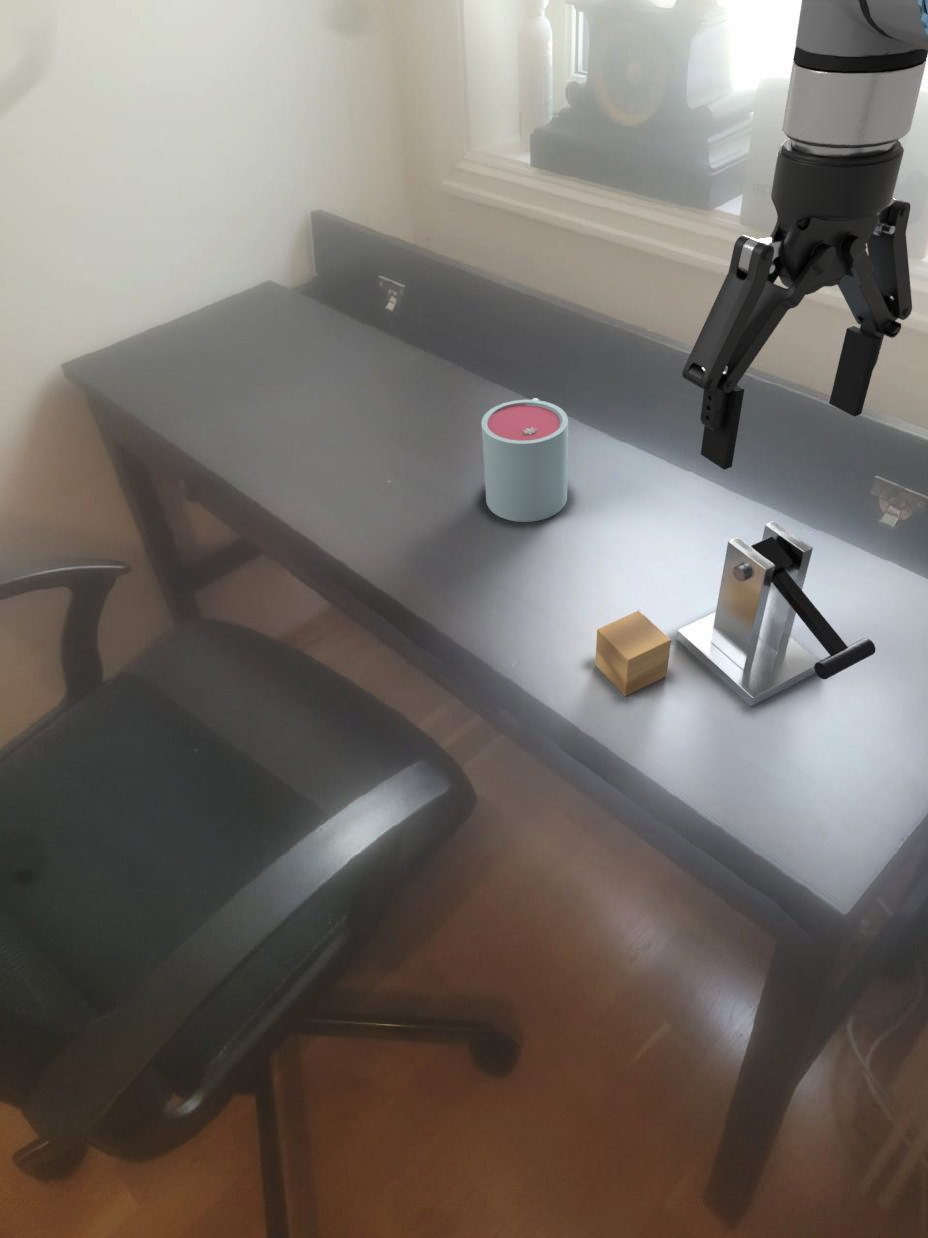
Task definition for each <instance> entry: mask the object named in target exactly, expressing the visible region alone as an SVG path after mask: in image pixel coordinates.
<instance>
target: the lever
mask: <svg viewBox="0 0 928 1238" xmlns="http://www.w3.org/2000/svg"><path fill="white" fill-rule="evenodd" d="M750 547H751V548H753V549H754V550H755V551H757V552H758V553H759V554H761V555H762V556H763V557H765V558H766V559H768V560H769V561H770V562H772V563H773V564H774V565H775V568H774V573H773V577H772V583H773V584H774V586H775V587H776V588H777V589H778V591H779V592H780V593H781V594H782V596H783V597H784V598H785V599H786V601H787V602H788V603H789V604H790V606H791V607H792V608H793V609H794V611H795V612H796V615H797V616H798V617H799V619H800V620H801V621H802V622H803V623H804V625H805V626H806V627H807V628H808V629H809V631H810V633H812V634H813V636H814V637H815V638H816V640H817V641H818V642H819V644H820V645H821V646H822V648H824V650H825V651H826V652H827V653H828V656H827V657H824V658H822V659H820V660H821V661H819V662H817V663H816V664H815V665H814V670H815V672H816V673H815V674H816V675H817V677H818V678H819V679H821V680H828V679H830V678H831V677H833V676H835V675H837V674H839V673H841V672H843V671H845V670H847V669H849V668H851V667H852V666H854V665H856V664H859V663H860V662H861V661H864V660H865V659H867V658H869V657H871V656H873V655H874V654H875V653H876V645H875V644H874V641H872V640H871V639H870V638H867V637H864V638H863V637H862V638H861V639H859V640H858V641H855V642H854V643H853V642H852V643H851V644H850V645H847V644H846V642H845V641H844V640H843V639H842V638H841V637H840V635H839V634H838V633H837V632H836V630H835V629H834V628H833V627H832V625H831V624H830V623H829V622H828V620H827V619H826V618H825V617H824V616H823V615H822V613H821V612H820V611H819V610H818V608H817V607H816V606H815V605H814V603H813V602H812V601H811V599H810V598H809V597H808V596H807V594H806V593H805V592H804V591H803V589H802V590H801V589H800V588H799V586H798V585H797V584H796V583H795V581H794V580H793V579H792V578H791V576H790V575H789V574H788V573H787V572H786V570H787V568H788V567H789V566H790V565H791V563H792V562H793V561H792V560H791V559H790V557H789V556H788V555H787V554H786V553H785V551H784V550H783V549H782V548H781V546H780V545H779V544H778V543H777V542H776V540H775V539H774V538H773V537H772V536H771V537H769V538H767V539H764V540H762V539H761V540H760V541H758V542H756V543H754V544H751V545H750Z"/></svg>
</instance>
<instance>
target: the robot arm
mask: <svg viewBox="0 0 928 1238" xmlns="http://www.w3.org/2000/svg"><path fill="white" fill-rule="evenodd" d="M927 58H928V0H801V4H800V11H799V18H798V25H797V32H796V38H795V47H794V53H793V62H792V66H791V71H790V72H791V73H790V78H789V85H788V91H787V97H786V102H785V110H784V115H783V122H782V127H781V130H782V131H783V133H784V135H785V136H786V137H787V138H785V140H784V141H783V142H782V143H781V144H780V146H778V150H777V155H776V160H775V161H776V162H775V168H774V175H773V180H772V188H771V193H770V197H771V201H772V204H773V206H774V209H775V211H776V216H777V218H776V223H775V225H774V228H773V230H772V232H771V234H770V236H769V237H766V238H759V239H756V238H754V237H750V236H748V235H745V234H742V235H740V236H739V237H738V238H737V239H736V240H735V242H734V245H733V249H732V254H731V259H730V263H729V268H728V272H727V274H726V276H725V278H724V281H723V283H722V285H721V287H720V290H719V292H718V293H717V296H716V298H715V300H714V302H713V304H712V306H711V308H710V310H709V312H708V315H707V317H706V319H705V322H704V324H703V326H702V328H701V330H700V332H699V334H698V337H697V338H696V340H695V342H694V343H695V344H694V345H693V347H692V350H691V352H690V354H689V356H688V358H687V361H686V363H685V365H684V366H683V369H682V373H681V376H682V378H683V379H685V380H686V381H687V382H689V383H691V384H693V385H695V386H697V387H698V388H700V389H702V390H703V394H702V403H701V411H700V422H701V424H702V425H703V426H704V427H703V433H702V441H701V448H700V455H701V456H702V457H703V458H706V459H707V460H708V461H710V462H711V463H713V464H714V465H716V466H718V467H719V468H720V469H722V470H724V471H725V470H728V469H730V468H732V467H733V461H734V456H735V449H736V444H737V437H738V431H739V426H740V419H741V413H742V407H743V401H744V394H745V388H743V387H742V386H741V385H738V383H739V382H740V381H741V379H742V378H743V377H744V375H745V374H746V372H747V371H748V369H749V367H750V366H751V365H752V363H753V362H754V360H755V359H756V358H757V356H758V355H759V353H760V352H761V350H762V349H763V348H764V346H765V344H766V343H767V341H768V340H769V339H770V337H771V335H772V334H773V333H774V331H775V330H776V328H777V327H778V326H779V324H780V323H781V321H782V320H783V318H784V316H785V315H786V314H787V312H788V311H789V310H791V309H794V308H796V307H798V306H799V305H800V304H801V302H802V301H803V299H804V298H805V296H808V295H811V294H814V293H816V292H818V291H819V290H820V289H822V288H824V287H834V286H838V289H839V291H840V292H841V295H842V296H843V298H844V300H845V302H846V304H847V306H848V308H849V310H850V312H851V314H852V316H853V318H854V320H855V321H856V323H857V324H858V325H860V326H859V327H857V326H856V325H853V326H850V327H847V328H846V330H845V333H844V339H843V342H842V347H841V352H840V355H839V359H838V364H837V368H836V372H835V377H834V381H833V384H832V390H831V393H830V398H829V402H828V404H830V405H831V406H833V407H835V408H837V409H839V410H840V411H843V412H844V413H846V414H848V415H850V416H851V417H854V418H855V417H857V416H861V415H862V412H863V409H864V405H865V401H866V397H867V394H868V389H869V387H870V383H871V379H872V376H873V373H874V372H873V371H874V369H875V367H876V365H877V363H878V360H879V355H880V352H881V348H882V345H883V341H884V337H885V336H886V337H888V338H890V339H893V338H896V337H897V336H898V335H899V333H900V331H901V329H902V323H901V322H899V321H897V320H898V319H899V320H901V321H905V320H906V319H908V318H909V317H910V315H911V314H912V311H913V300H912V299H913V298H912V288H911V287H912V286H911V278H910V277H911V275H910V265H909V254H908V243H907V229H908V223H909V218H910V212H911V204H910V203H911V202H908V201H904V200H901V199H899V198H894V193H895V189H896V185H897V180H898V176H899V172H900V169H901V165H902V160H903V156H904V152H905V150H904V147H903V145H902V143H901V142H900V141H899V140H901V139H903V138H905V136H907V134H909V132H910V131H911V128H912V124H913V121H914V115H915V111H916V107H917V103H918V100H919V99H918V98H919V93H920V90H921V86H922V81H923V77H924V73H925V69H926V64H927V60H928V59H927ZM778 278H779V280H780V282H781V283H782V285H783V286H784V287H783V286H780V285H778V284H777V283H776V280H777V279H778ZM726 368H727V370H726ZM725 370H726V371H725Z"/></svg>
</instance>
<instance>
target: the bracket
mask: <svg viewBox="0 0 928 1238" xmlns="http://www.w3.org/2000/svg"><path fill="white" fill-rule="evenodd" d="M771 536H772V537H773V538H774V539H775V540H776V542H777V543H778V544H779V545H780V546H781V548H782V549H783V550H784V551H785V553H786V554H787V555H788V556H789V557H790V559H791V560H792V561H793V562H792V563H791V565H790V566H789V567H788V568H787V570H786V572H787V573H788V574H789V575H790V576H791V578H792V579H793V580H794V581H795V583H796V584H797V585H798V586H799V588H800V589H801V590H802V591H803V588H804V585H805V582H806V581H805V580H806V577H807V574H808V569H809V565H810V561H811V558H812V554H813V550H814V547H813V546H812V545H811V544H809V543H807V542H806V541H804V540H803V539H802V538H800V537H799V536H797V535H796V534H794V533H793V532H791V531H790V530H789V529H787V528H785V527H784V526H783V525H782V524H780V523H778V522H777V521H776V520H772V521H770V522H768V523H766V524H765V525H764V530H763V534H762V538H761V541H762V540H764V539H767V538H769V537H771ZM774 568H775V565H774V564H773V563H772V562H770V561H769V560H768V559H766V558H765V557H763V556H762V555H761V554H759V553H758V552H757V551H755V550H754V549H753V548H751V545H749V544H747V543H746V542H744V541H743V540H742V539H741V538H739V537H734V538H732V539H730V540H728V541H727V545H726V553H725V556H724V563H723V568H722V574H721V581H720V584H719V590H718V591H719V592H718V598H717V603H716V607H715V608H716V609H715V612H713V613H711V614H708V615H706V616H704V617H702V618H700V619H698V620H695V621H694V622H692V623H689V624H687V625H685V626H683V627H681V628H678V629H677V631H676V638H675V639H676V640H677V641H678V642H679V643H680V644H681V645H682V646H683V647H684V648H686V650H687V651H689V652H690V653H691V654H692V655H693V656H694V657H695V658H696V659H697V660H699V661H700V662H701V663H702V664H703V665H704V667H706V668H708V670H709V671H711V672H712V674H714V675H715V676H716V677H717V678H718V679H719V680H721V681H722V682H723V684H725V685H726V686H727V687H728V688H729V689H731V691H733V692H734V693H735V695H737V696H738V697H739V698H740V699H741V700H743V701H744V702H745V703H746V705H748V706H749V707H750V708H752V707H754V706H756V705H757V704H760V703H761V702H763V701H765V700H767V699H770V698H771V697H773V696H775V695H777V694H779V693H781V692H782V691H784V690H787V689H788V688H790V687H792V686H794V685H795V684H798V683H800V682H801V681H803V680H805V679H807V678H809V677H811V676H813V675H815V674H816V672H815V670H814V665H815V664H816V663H817V662H819V661H821V660H822V659H820V658H819V657H818V656H816V655H815V654H814V653H812V652H811V651H810V650H808V649H807V648H806V647H805V646H804V645H803V644H801V643H800V642H799V641H797V640H796V639H795V638H794V637H792V634H791V633H792V631H793V626H794V622H795V618H796V615H797V613H796V612H795V611H794V609H793V608H792V607H791V606H790V604H789V603H788V602H787V601H786V599H785V598H784V597H783V596H782V594H781V593H780V592H779V591H778V589H777V588H776V587H775V586H774V584H773V583H772V577H773V573H774Z"/></svg>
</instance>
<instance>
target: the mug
mask: <svg viewBox="0 0 928 1238" xmlns="http://www.w3.org/2000/svg"><path fill="white" fill-rule="evenodd" d="M480 424H481V438H482V439H481V440H482V453H483V454H482V455H483V470H484V487H485V488H484V489H485V502H486V505H487V507H488V509H489V510H490V512H492V513H493V514H495V516H497V517H499V518H502V519H503V520H504V519H505V520H508V521H512V522H518V523H519V522H520V523H531V522H537V521H543V520H547V519H549V518H551V517H553V516H555V515H557V514H558V513H560V512H561V511H562V510H563V509H564V507H565V506H566V504H567V502H568V458H569V457H568V456H569V455H568V454H569V452H568V450H569V417H568V414H567V413H566V411H565V410H564V409H562V408H561V407H560V406H558V405H556V404H554V403H551V402H548V401H544V400H540V399H539V398H537V397H533V398H532V399H517V400H511V401H506V402H503V403H500V404H498V405H495V406H493V407H491V408H490V409H489V410H487V411H486V413H484V415H483V417H482V418H481V423H480Z"/></svg>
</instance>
